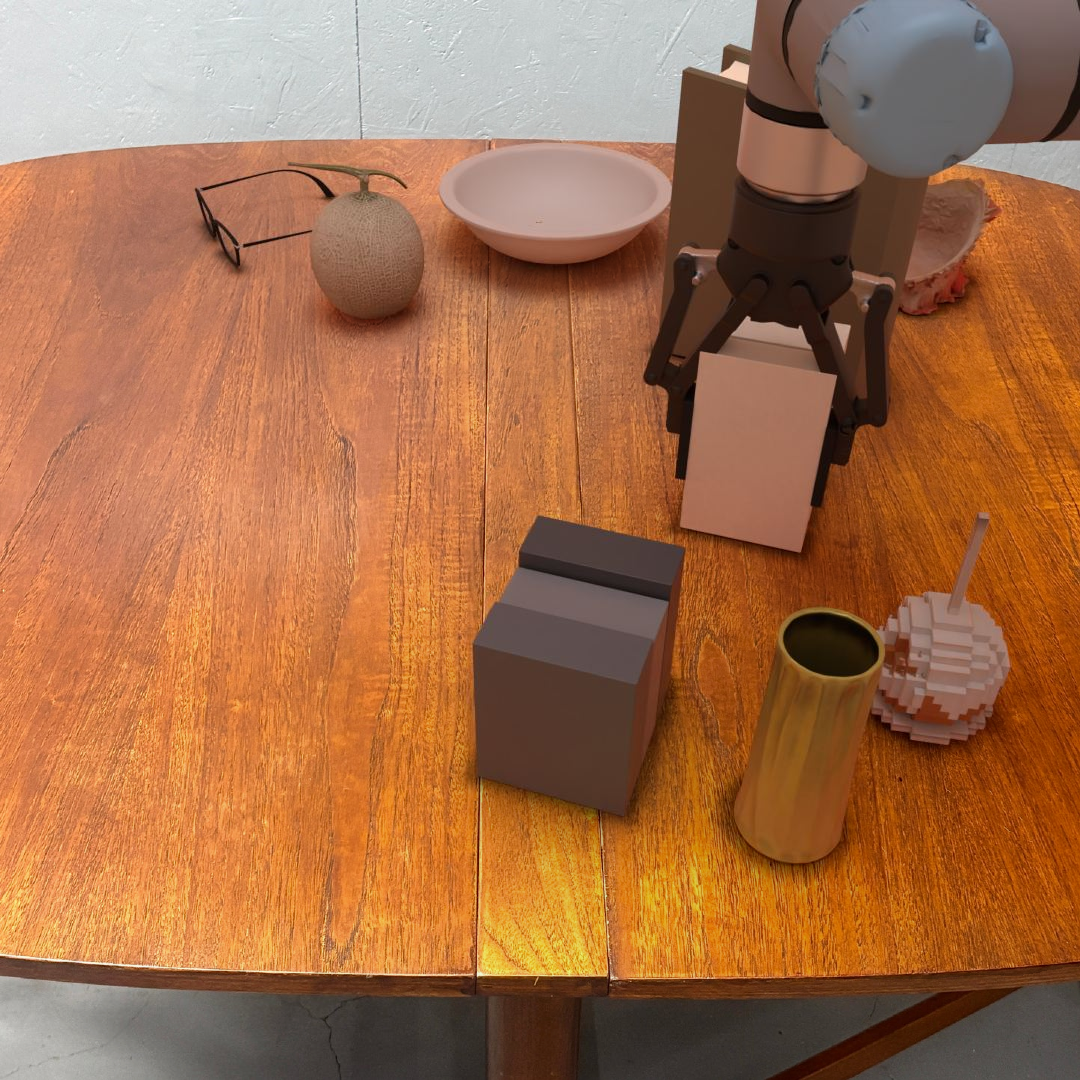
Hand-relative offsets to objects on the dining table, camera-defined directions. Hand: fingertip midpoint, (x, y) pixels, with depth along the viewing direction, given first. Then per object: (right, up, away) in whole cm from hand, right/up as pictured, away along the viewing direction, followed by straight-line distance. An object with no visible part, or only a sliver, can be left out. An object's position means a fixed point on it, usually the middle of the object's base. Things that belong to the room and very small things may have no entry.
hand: (750, 481), depth 82 cm
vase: (-1, -20, -17) cm, 26 cm away
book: (+6, +12, +22) cm, 26 cm away
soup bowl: (-14, +27, +40) cm, 50 cm away
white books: (+2, 0, +7) cm, 7 cm away
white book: (0, -3, +3) cm, 4 cm away
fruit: (-31, +18, +29) cm, 46 cm away
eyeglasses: (-42, +29, +41) cm, 66 cm away
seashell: (+21, +23, +35) cm, 47 cm away
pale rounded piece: (+9, -15, -10) cm, 20 cm away
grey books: (-13, -16, -12) cm, 24 cm away
